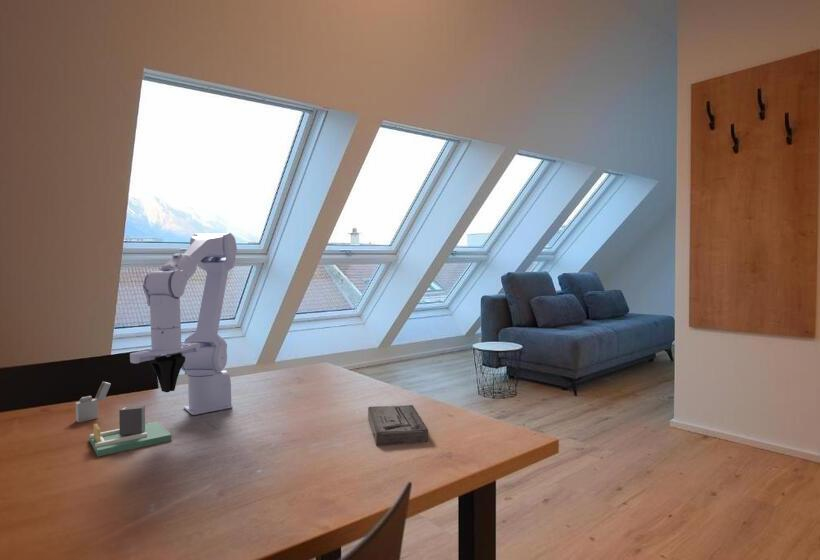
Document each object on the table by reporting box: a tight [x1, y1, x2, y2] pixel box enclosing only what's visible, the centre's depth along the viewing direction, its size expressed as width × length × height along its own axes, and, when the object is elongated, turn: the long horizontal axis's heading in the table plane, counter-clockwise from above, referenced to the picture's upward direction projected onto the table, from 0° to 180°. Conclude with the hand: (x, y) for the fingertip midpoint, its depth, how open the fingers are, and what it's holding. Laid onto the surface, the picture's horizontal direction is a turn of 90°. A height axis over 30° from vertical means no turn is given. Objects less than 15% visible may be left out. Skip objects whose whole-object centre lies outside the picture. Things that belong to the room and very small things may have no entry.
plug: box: [118, 405, 146, 436], centre depth 106 cm, size 4×4×5 cm
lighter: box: [74, 381, 111, 423], centre depth 120 cm, size 7×2×8 cm, turn 141°
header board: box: [88, 420, 173, 457], centre depth 105 cm, size 13×11×4 cm
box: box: [367, 404, 429, 447], centre depth 111 cm, size 11×17×3 cm, turn 11°
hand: (168, 390), depth 110 cm, fingers closed
